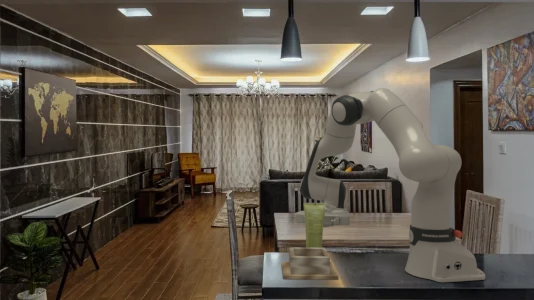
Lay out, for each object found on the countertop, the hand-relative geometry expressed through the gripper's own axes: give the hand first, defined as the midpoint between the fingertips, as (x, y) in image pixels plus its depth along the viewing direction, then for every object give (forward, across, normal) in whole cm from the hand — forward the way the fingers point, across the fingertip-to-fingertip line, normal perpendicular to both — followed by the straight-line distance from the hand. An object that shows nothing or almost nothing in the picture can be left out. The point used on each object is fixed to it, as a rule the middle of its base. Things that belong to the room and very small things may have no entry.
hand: (319, 221), depth 153 cm
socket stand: (+23, 0, +11) cm, 26 cm away
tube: (+12, 0, +11) cm, 16 cm away
